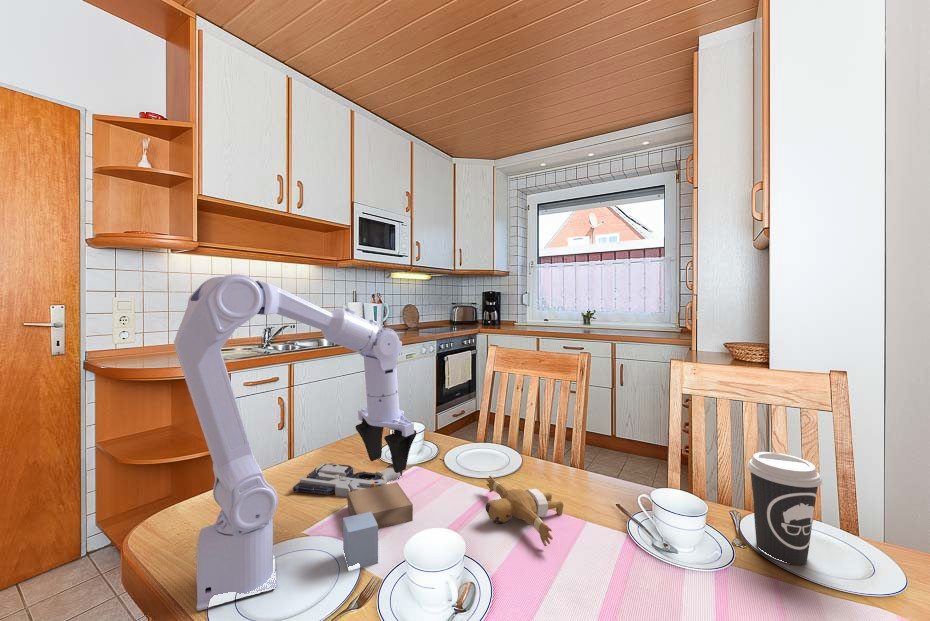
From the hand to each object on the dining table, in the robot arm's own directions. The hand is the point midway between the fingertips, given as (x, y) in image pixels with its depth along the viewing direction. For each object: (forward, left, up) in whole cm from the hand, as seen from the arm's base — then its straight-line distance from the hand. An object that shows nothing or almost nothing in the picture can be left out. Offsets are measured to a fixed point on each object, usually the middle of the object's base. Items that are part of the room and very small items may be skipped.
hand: (387, 464), depth 74 cm
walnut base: (-1, +3, -10) cm, 11 cm away
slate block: (-7, -9, -11) cm, 15 cm away
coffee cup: (+55, -37, -11) cm, 67 cm away
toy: (+23, -10, -11) cm, 28 cm away
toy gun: (-3, +18, -11) cm, 22 cm away
